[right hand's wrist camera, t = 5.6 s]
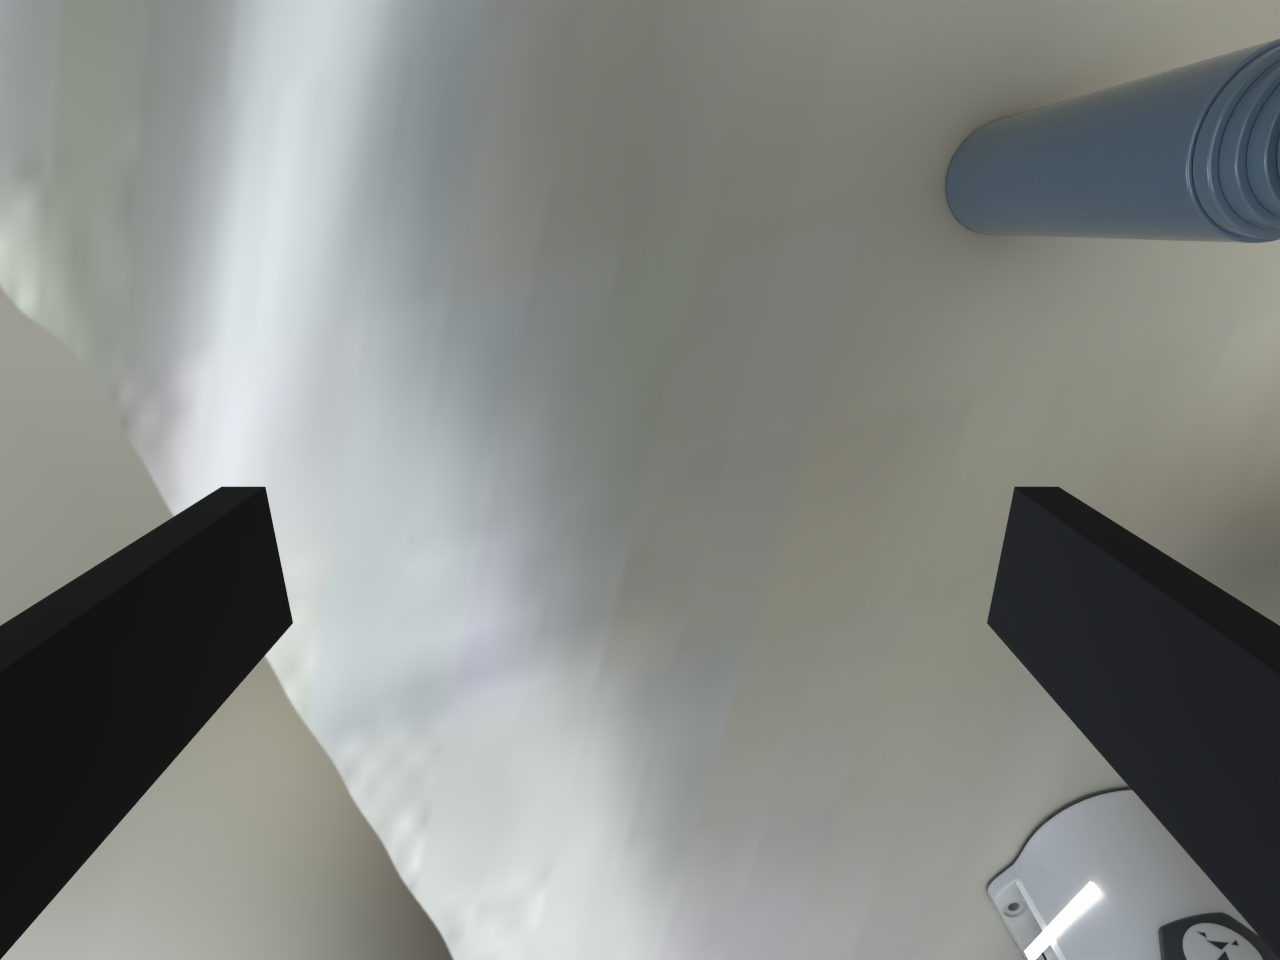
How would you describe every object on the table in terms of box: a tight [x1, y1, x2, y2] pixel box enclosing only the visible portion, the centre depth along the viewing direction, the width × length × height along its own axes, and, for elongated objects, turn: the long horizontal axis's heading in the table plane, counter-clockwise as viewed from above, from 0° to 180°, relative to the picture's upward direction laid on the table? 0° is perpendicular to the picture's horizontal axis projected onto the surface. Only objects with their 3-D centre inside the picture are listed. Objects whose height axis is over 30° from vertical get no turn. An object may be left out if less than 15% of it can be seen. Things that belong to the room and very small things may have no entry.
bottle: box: [946, 39, 1280, 243], centre depth 26 cm, size 6×6×22 cm
